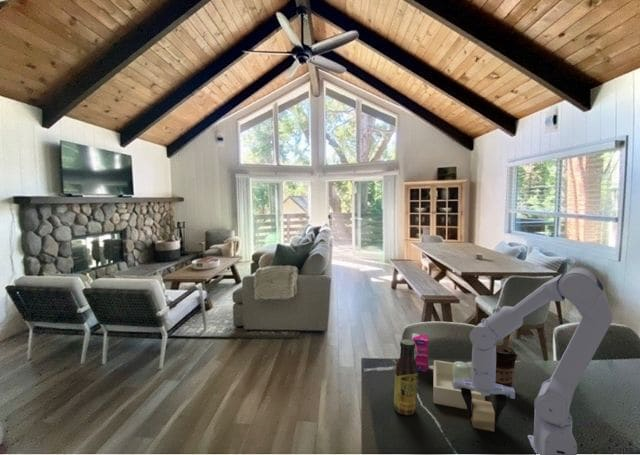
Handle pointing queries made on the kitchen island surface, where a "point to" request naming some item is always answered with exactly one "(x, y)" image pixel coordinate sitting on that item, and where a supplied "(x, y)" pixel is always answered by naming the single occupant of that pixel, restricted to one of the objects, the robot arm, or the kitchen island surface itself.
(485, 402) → the oak cube
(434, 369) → the box
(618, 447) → the kitchen island surface
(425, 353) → the supplement box
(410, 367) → the sauce bottle
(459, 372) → the sage cylinder
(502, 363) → the coffee cup
